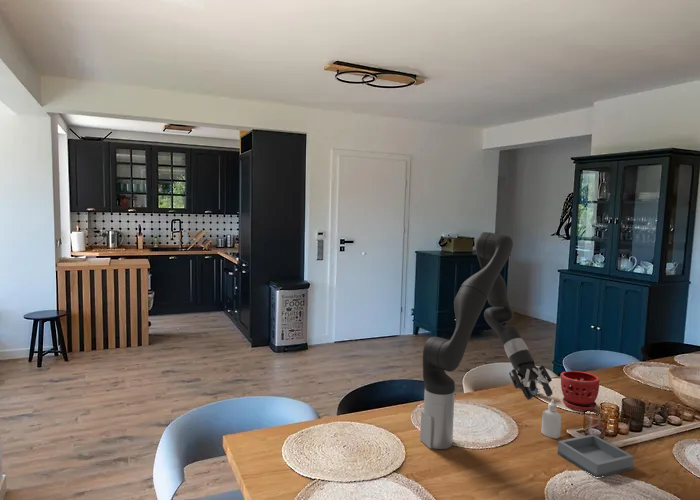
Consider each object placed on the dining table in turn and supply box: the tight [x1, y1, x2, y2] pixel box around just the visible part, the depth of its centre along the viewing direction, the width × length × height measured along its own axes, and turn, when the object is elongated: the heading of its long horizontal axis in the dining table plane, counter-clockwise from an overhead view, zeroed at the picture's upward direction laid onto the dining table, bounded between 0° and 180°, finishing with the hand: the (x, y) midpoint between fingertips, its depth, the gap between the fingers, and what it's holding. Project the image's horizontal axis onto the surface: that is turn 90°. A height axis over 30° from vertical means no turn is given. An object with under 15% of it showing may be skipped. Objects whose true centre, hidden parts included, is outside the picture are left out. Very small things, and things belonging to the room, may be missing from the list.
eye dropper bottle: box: [540, 399, 562, 439], centre depth 155 cm, size 4×6×12 cm
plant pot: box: [560, 370, 600, 412], centre depth 179 cm, size 13×13×12 cm
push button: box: [526, 381, 541, 396], centre depth 190 cm, size 7×5×10 cm
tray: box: [557, 434, 635, 478], centre depth 139 cm, size 14×14×4 cm
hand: (540, 397), depth 159 cm, fingers open, 8 cm apart
